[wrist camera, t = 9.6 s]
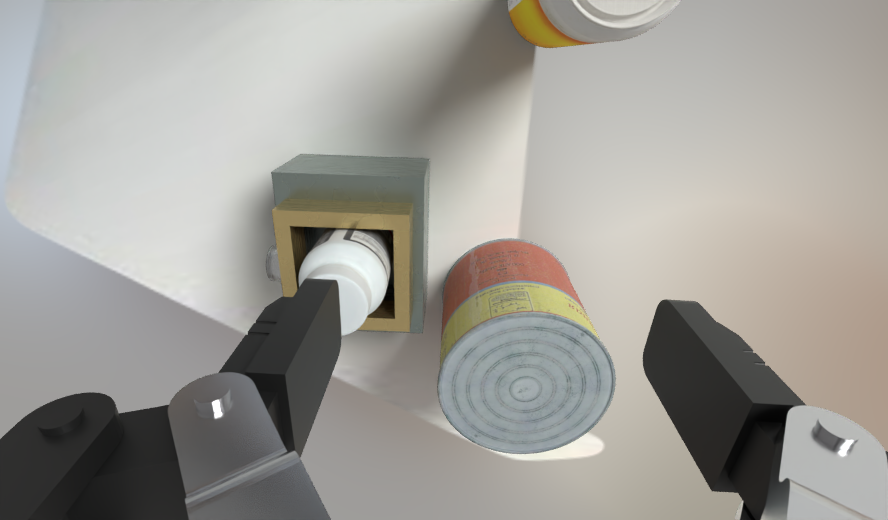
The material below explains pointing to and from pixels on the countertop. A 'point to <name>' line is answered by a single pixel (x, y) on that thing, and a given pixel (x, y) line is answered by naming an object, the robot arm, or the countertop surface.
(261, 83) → the countertop surface
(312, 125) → the countertop surface
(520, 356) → the canned food
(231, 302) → the countertop surface
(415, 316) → the gold grey hollow block
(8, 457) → the robot arm
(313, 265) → the pill bottle
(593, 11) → the beer can
